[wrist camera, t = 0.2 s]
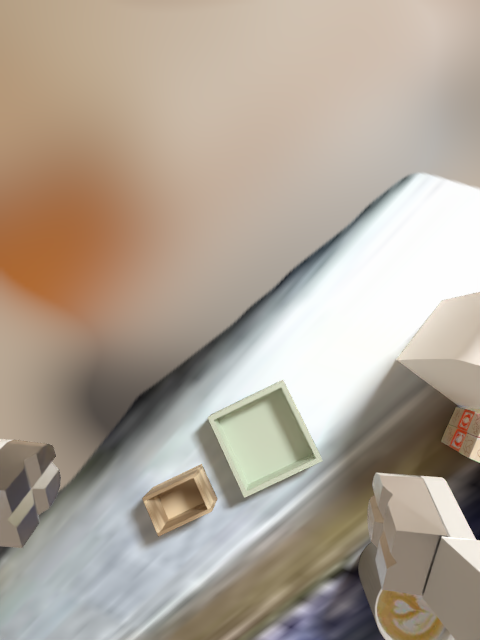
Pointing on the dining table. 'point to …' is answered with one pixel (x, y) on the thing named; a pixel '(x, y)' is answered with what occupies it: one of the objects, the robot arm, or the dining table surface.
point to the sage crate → (264, 438)
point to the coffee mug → (398, 607)
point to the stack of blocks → (464, 433)
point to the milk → (449, 350)
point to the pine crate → (180, 500)
